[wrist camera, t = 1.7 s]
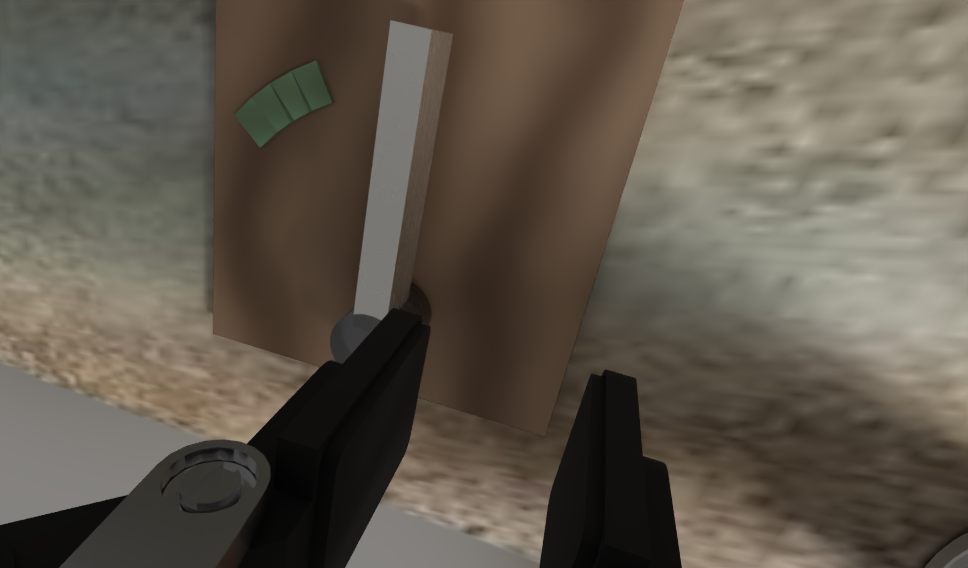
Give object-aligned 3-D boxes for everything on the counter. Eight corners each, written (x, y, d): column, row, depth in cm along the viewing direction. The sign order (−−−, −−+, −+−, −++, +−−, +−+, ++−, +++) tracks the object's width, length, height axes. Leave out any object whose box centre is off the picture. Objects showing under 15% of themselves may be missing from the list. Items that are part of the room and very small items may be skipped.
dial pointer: (420, 372, 31) (391, 420, 27) (361, 354, 31) (323, 398, 27) (484, 40, 24) (457, 35, 20) (407, 23, 24) (365, 14, 20)
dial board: (682, -6, 24) (688, -11, 22) (547, 421, 33) (544, 438, 31) (237, -100, 26) (213, -110, 24) (228, 323, 35) (210, 335, 34)
